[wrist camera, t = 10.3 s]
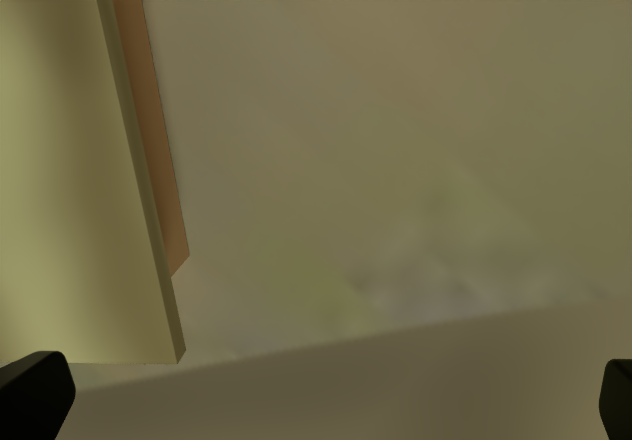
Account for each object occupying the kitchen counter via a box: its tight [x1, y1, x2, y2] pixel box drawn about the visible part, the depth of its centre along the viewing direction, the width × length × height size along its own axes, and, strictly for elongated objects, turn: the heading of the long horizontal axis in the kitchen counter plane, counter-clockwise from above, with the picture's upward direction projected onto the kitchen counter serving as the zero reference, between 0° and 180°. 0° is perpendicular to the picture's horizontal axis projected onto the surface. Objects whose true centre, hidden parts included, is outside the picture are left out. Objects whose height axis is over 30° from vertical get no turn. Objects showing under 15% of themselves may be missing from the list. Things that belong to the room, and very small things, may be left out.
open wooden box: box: [112, 0, 189, 277], centre depth 17 cm, size 11×11×5 cm
